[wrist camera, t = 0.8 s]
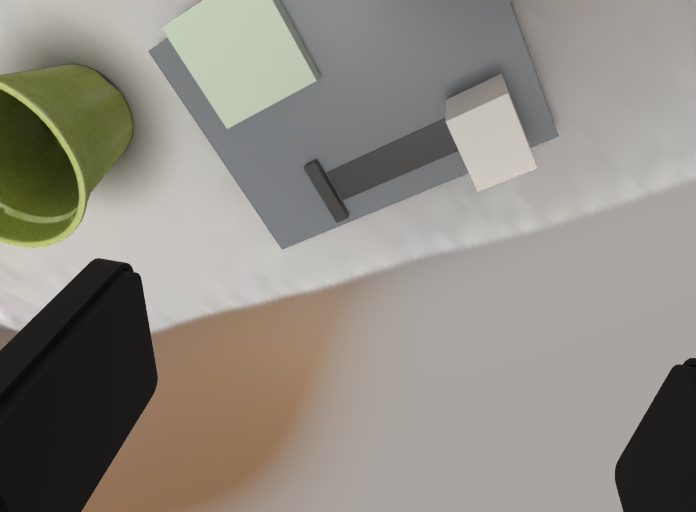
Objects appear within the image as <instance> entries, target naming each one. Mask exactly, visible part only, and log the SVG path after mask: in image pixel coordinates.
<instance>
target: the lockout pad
mask: <svg viewBox="0 0 696 512" xmlns="http://www.w3.org/2000/svg"><path fill="white" fill-rule="evenodd" d="M162 30H163V32H164V33H165V35H166V36H167V38H168V39H169V41H170V42H171V44H172V45H173V47H174V48H175V50H176V52H177V53H178V55H179V56H180V58H181V59H182V61H183V62H184V64H185V65H186V67H187V68H188V70H189V71H190V73H191V75H192V76H193V78H194V79H195V81H196V82H197V84H198V85H199V87H200V88H201V90H202V91H203V93H204V95H205V96H206V98H207V99H208V101H209V102H210V104H211V105H212V107H213V108H214V110H215V111H216V113H217V114H218V116H219V118H220V119H221V121H222V122H223V124H224V125H225V127H226V128H227V129H228V128H230V127H232V126H234V125H236V124H238V123H239V122H241V121H243V120H245V119H247V118H249V117H251V116H252V115H254V114H256V113H258V112H260V111H262V110H264V109H265V108H267V107H269V106H271V105H273V104H275V103H277V102H279V101H280V100H282V99H284V98H286V97H288V96H290V95H292V94H293V93H295V92H297V91H299V90H301V89H303V88H305V87H306V86H308V85H310V84H312V83H314V82H316V81H317V80H318V79H319V77H320V74H319V72H318V70H317V69H316V67H315V65H314V63H313V61H312V59H311V58H310V56H309V54H308V52H307V50H306V48H305V47H304V45H303V43H302V41H301V39H300V37H299V35H298V34H297V32H296V30H295V28H294V26H293V24H292V23H291V21H290V19H289V17H288V15H287V13H286V12H285V10H284V8H283V6H282V4H281V2H280V1H279V0H202V1H201V2H199V3H198V4H196V5H195V6H193V7H192V8H190V9H189V10H187V11H186V12H184V13H183V14H182V15H180V16H179V17H177V18H176V19H174V20H173V21H171V22H170V23H168V24H167V25H165V26H164V27H162Z"/></svg>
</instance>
